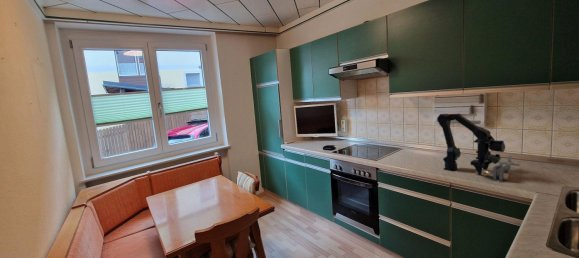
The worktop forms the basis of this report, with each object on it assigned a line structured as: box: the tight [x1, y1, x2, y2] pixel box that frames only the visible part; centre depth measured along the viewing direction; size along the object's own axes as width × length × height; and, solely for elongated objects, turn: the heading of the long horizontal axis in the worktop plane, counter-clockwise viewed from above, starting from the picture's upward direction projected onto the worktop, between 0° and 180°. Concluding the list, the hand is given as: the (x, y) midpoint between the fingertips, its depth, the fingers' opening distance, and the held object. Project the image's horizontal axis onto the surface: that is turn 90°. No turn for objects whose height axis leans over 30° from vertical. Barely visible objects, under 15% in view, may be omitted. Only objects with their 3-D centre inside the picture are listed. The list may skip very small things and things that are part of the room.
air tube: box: [475, 168, 510, 181], centre depth 157 cm, size 16×4×4 cm, turn 31°
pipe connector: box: [498, 155, 521, 172], centre depth 164 cm, size 10×10×10 cm
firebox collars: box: [491, 163, 510, 183], centre depth 153 cm, size 4×11×8 cm, turn 121°
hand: (482, 173), depth 161 cm, fingers open, 7 cm apart
